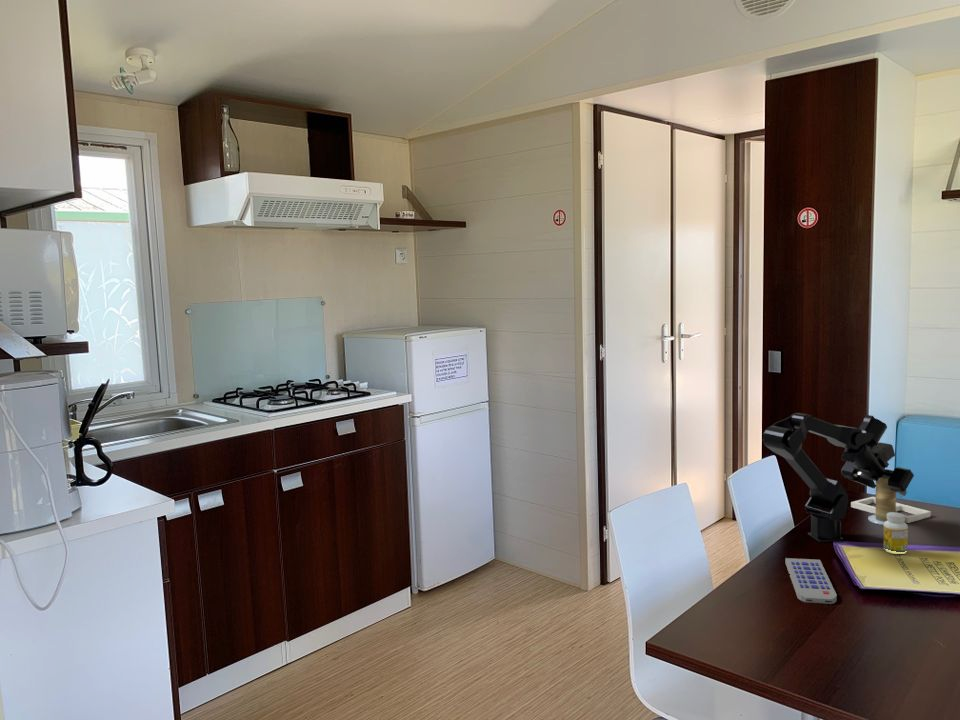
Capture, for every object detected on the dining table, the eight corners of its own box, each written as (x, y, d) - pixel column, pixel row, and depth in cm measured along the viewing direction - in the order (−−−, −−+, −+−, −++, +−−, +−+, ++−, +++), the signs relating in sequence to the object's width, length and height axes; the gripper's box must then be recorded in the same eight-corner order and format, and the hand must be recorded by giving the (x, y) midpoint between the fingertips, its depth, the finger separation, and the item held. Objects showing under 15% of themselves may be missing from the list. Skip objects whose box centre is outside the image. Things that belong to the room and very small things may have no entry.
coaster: (881, 527, 206) (881, 525, 206) (861, 517, 215) (861, 515, 215) (911, 524, 207) (911, 523, 207) (890, 514, 216) (890, 513, 216)
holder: (908, 523, 208) (908, 517, 208) (851, 507, 224) (851, 502, 224) (930, 516, 212) (930, 511, 212) (873, 501, 229) (873, 496, 228)
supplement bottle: (909, 556, 185) (909, 518, 184) (885, 554, 187) (885, 517, 186) (905, 548, 190) (905, 512, 189) (881, 546, 192) (882, 510, 191)
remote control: (820, 567, 182) (820, 558, 182) (838, 606, 160) (838, 596, 160) (785, 565, 184) (785, 556, 184) (798, 603, 163) (798, 593, 162)
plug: (883, 522, 208) (883, 473, 207) (871, 517, 213) (872, 469, 212) (899, 521, 209) (900, 472, 207) (887, 515, 214) (888, 468, 212)
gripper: (910, 440, 198) (935, 474, 204) (847, 429, 215) (873, 461, 221) (890, 474, 195) (916, 507, 201) (829, 460, 212) (855, 492, 218)
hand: (889, 490), depth 211 cm, fingers open, 9 cm apart
